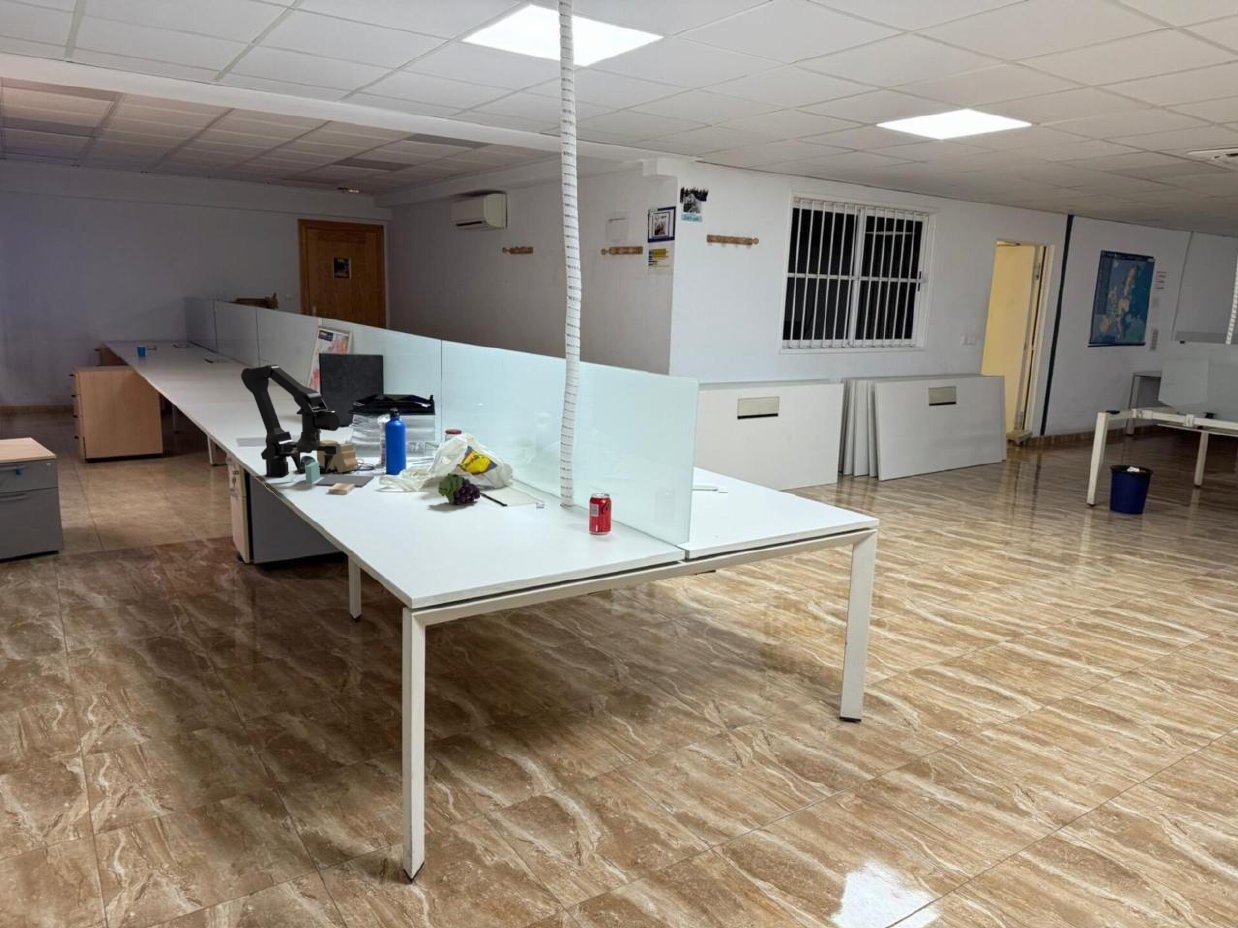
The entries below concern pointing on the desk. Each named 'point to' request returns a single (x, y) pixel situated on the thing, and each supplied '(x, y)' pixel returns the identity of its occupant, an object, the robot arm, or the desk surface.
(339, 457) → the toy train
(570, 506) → the desk surface
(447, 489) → the fruit
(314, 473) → the teal slab
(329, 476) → the mat
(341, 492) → the birch slab
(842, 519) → the desk surface
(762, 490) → the desk surface
